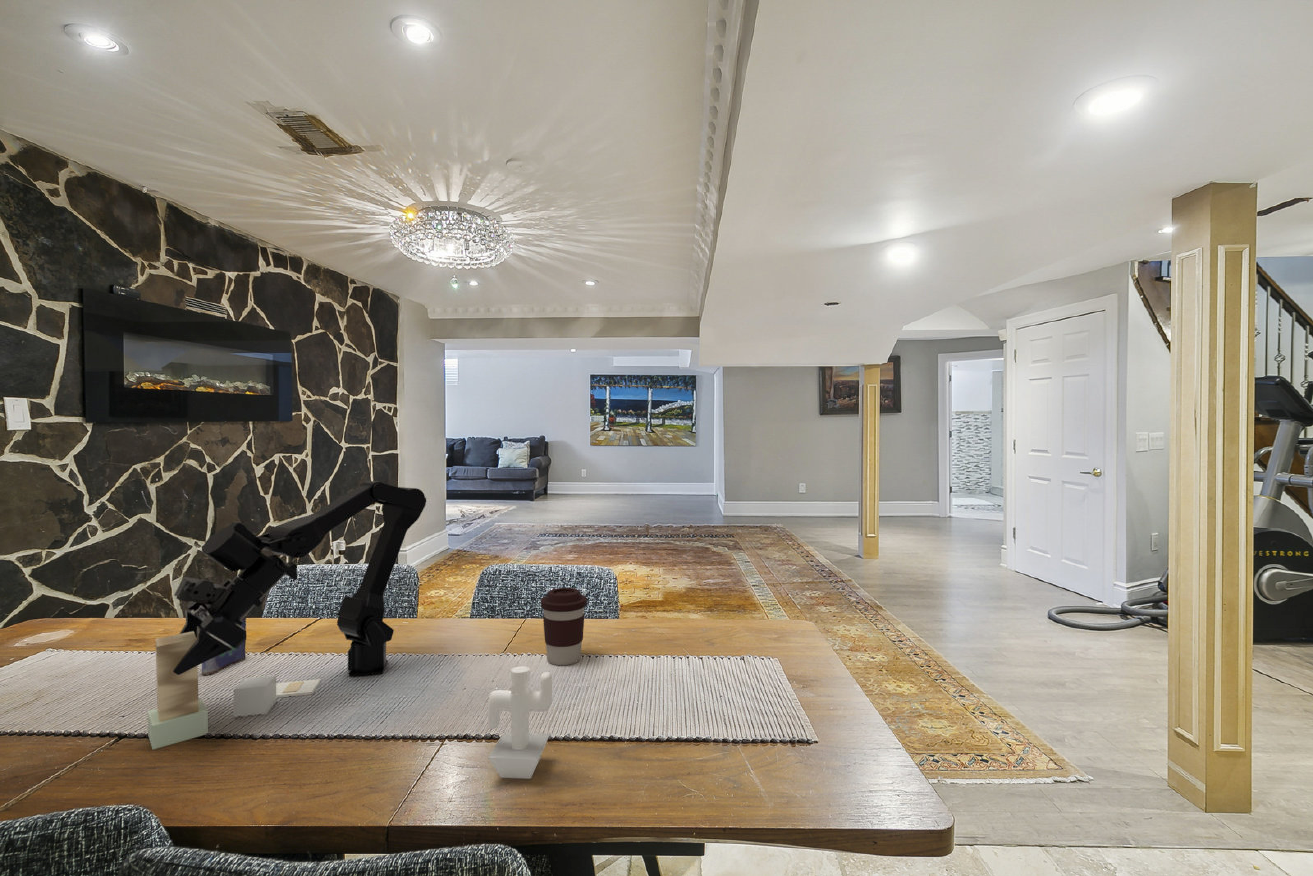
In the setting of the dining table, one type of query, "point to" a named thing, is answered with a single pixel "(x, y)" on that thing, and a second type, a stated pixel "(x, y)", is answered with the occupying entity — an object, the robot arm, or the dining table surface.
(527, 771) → the figurine
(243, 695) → the grey cube
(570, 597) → the coffee cup
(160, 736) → the sage base block
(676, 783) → the dining table surface
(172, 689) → the maple pillar
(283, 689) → the card
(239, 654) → the flask
